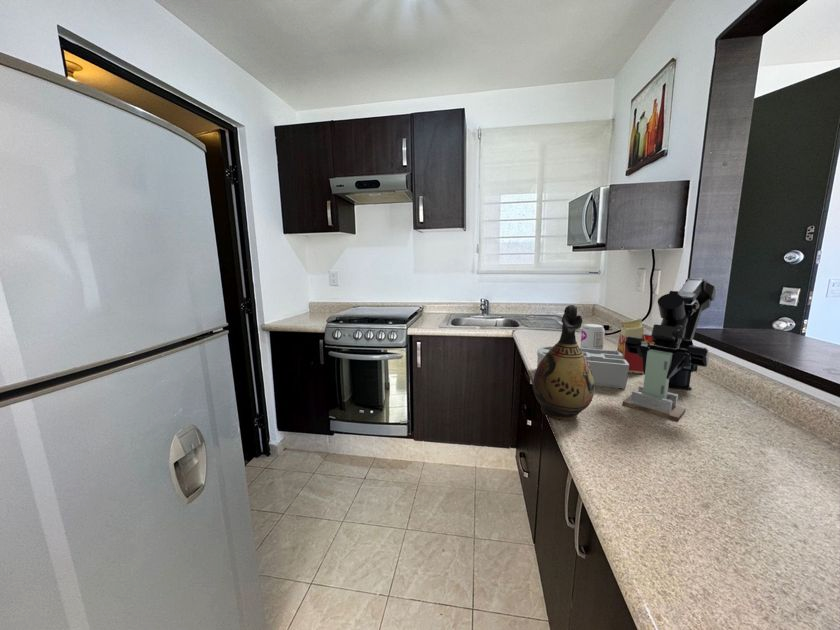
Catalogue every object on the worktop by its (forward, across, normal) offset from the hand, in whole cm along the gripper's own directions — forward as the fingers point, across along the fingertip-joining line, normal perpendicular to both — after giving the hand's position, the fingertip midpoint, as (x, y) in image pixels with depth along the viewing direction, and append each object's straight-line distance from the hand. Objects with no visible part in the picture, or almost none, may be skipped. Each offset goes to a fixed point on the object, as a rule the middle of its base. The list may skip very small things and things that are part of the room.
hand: (655, 375), depth 89 cm
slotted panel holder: (+6, 0, +8) cm, 10 cm away
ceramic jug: (+21, -16, -7) cm, 28 cm away
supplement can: (-15, -30, +30) cm, 45 cm away
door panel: (+4, 0, +6) cm, 7 cm away
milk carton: (-16, -16, +30) cm, 38 cm away
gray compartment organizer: (0, -26, +15) cm, 30 cm away
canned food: (-26, -12, +41) cm, 50 cm away
